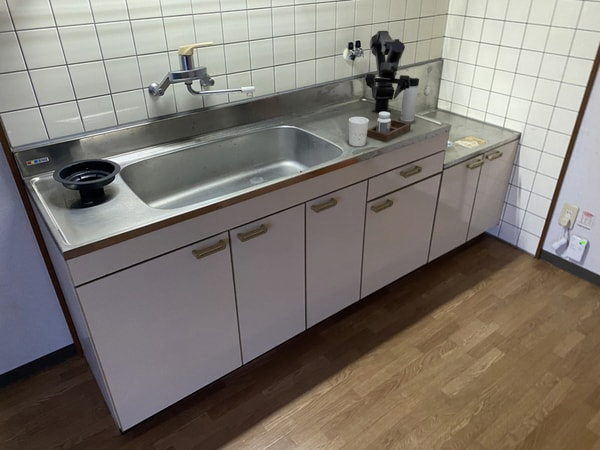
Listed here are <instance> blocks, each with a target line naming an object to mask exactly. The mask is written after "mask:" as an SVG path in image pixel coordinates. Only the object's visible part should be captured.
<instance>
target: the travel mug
mask: <svg viewBox="0 0 600 450" xmlns="http://www.w3.org/2000/svg"><path fill="white" fill-rule="evenodd" d="M409 77H410V87H409V88H408V89H407V88H406V90H403V91H402V98H401V99H402V100H401V107H400V108H401V109H400V118H399V121H401V122H405V123H409V124H413V123H414V122H415V117H416V109H417V101H418V94H419V85H420V78H418V77H415V78H414V77H411V76H409Z"/></svg>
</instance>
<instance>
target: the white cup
mask: <svg viewBox="0 0 600 450" xmlns="http://www.w3.org/2000/svg"><path fill="white" fill-rule="evenodd" d="M369 121H370V120H369V118H367V117H364V116H352V117H350V118H348V144H349V145H350V146H352V147H363V146H365V145H366V144H367V138H368V137H367V131H368V129H369V123H370V122H369Z"/></svg>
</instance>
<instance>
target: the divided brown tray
mask: <svg viewBox="0 0 600 450" xmlns="http://www.w3.org/2000/svg"><path fill="white" fill-rule="evenodd" d="M390 119H391V125H390V132H389V133H386V134H384V133H381V132H377V131H376V130H377V124H376V125H374V126H372V127H368V131H367V137H366V138H370V139H374V140H377V141H381V142H384V143H387V142H389V141H391V140H393V139H396V138H398V137H400V136H402V135H404V134H406V133H408V132H410V131H411V127H412V123H405V122H401V121H400V120H398V119H393V118H390Z"/></svg>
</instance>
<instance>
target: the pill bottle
mask: <svg viewBox="0 0 600 450" xmlns="http://www.w3.org/2000/svg"><path fill="white" fill-rule="evenodd" d="M391 119H392V118H391V113H390V112H380V113H378V117H377V120H376V125H377V130H376V131H377V132H381V133H384V134H386V133H389V132H390V125H391Z"/></svg>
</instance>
